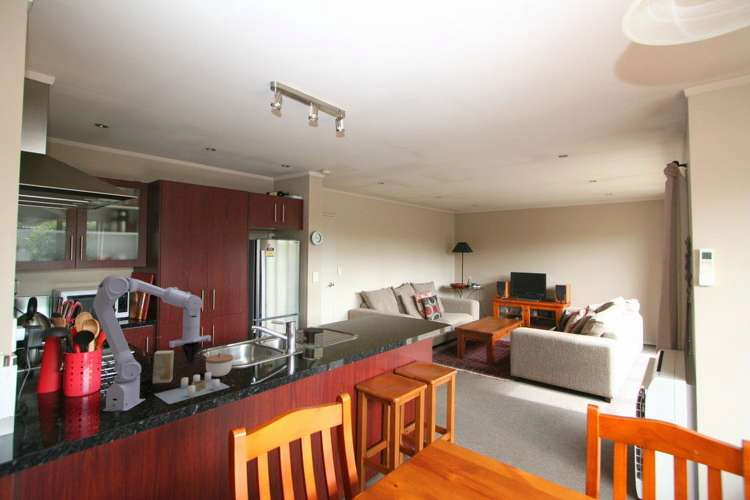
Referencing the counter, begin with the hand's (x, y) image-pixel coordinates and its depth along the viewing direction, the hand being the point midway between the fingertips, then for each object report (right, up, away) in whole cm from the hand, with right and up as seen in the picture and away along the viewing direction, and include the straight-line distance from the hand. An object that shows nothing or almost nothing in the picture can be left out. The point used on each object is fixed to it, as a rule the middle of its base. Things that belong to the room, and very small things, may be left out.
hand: (190, 363), depth 137 cm
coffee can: (+38, -12, +48) cm, 62 cm away
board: (+2, -10, -1) cm, 11 cm away
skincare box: (-15, -11, +8) cm, 20 cm away
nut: (+3, -10, 0) cm, 10 cm away
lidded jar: (+3, -11, +18) cm, 21 cm away
